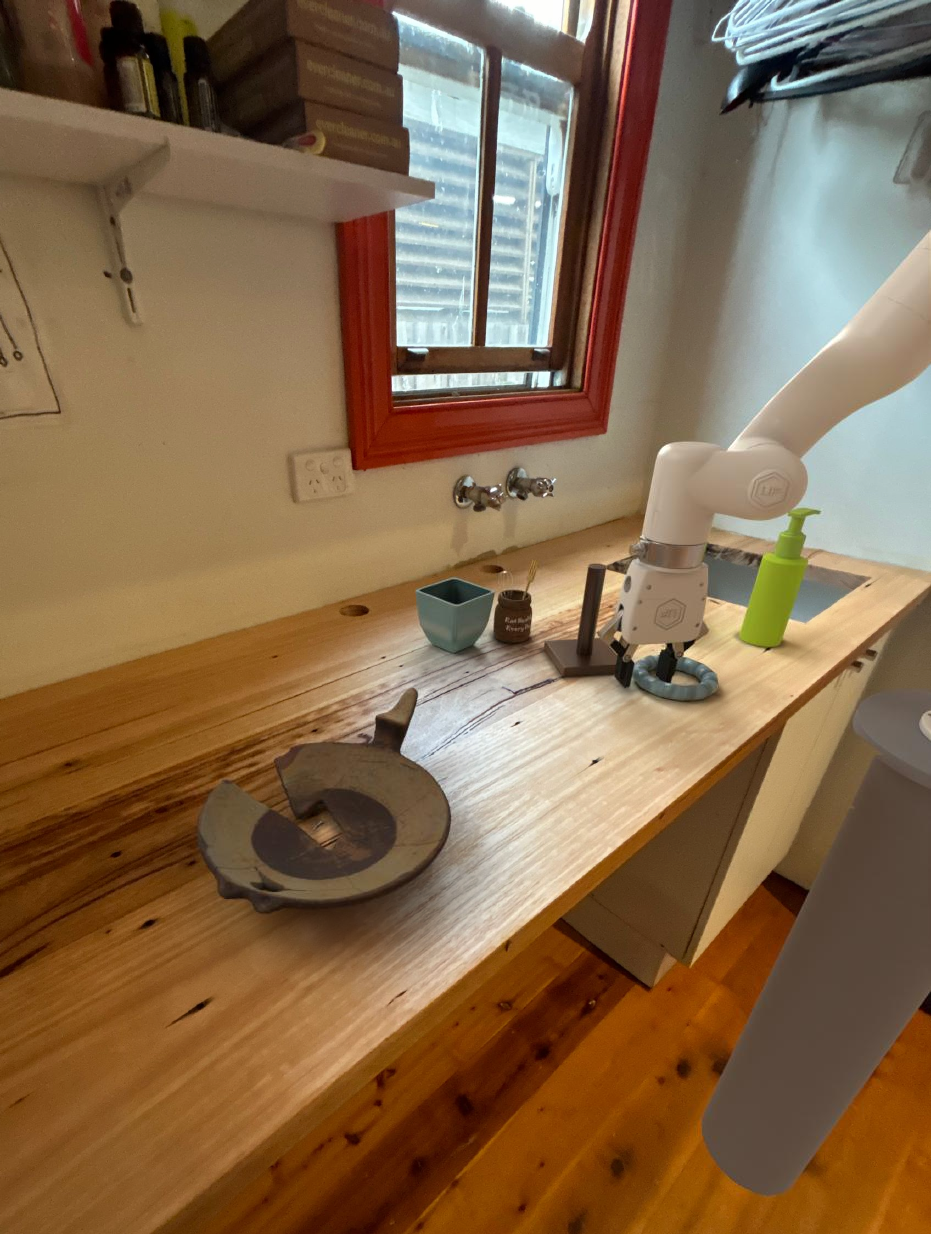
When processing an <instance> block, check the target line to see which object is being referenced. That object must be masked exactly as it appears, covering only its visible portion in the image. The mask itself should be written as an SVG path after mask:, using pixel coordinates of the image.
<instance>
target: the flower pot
mask: <svg viewBox="0 0 931 1234" xmlns="http://www.w3.org/2000/svg"><path fill="white" fill-rule="evenodd" d="M495 594H496V591H495V590H493V589H490V588H488V587H484V586H481V585H479V584H476V583H473V582H470V581H468V580H464V579H461V578H458V577H450V578H446V579H445V580H444V579H443V580H441V581H438V582H436V583H435V582H434V583H433V584H429V585H426V586H423V587H420V588H417V589H415V600H416V601H415V602H416V609H417V616H418V621H419V624H420V627H421V630H422V632H423V634H424V635H425V637H426V639H427V640H428V642H429V643H430V644H432V645H434V646H436V647H438V648H440V649H443V650H444V651H447V652H449V653H452V654H456V653H458V652H459V651H462V650H464V649H467V648H469V647H471V646H474V645H475V644H476V643H477V642H478V640H479V639H480V638H481V636H482V635H483V633H484V632H485V630H486V628H487V626H488V623H489V620H490V617H491V613H492V608H493V605H494V604H493V603H494V599H495Z"/></svg>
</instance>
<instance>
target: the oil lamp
mask: <svg viewBox="0 0 931 1234" xmlns="http://www.w3.org/2000/svg"><path fill="white" fill-rule="evenodd" d="M401 695H402V696H401V697H400V698H399V700H398V701H397V703H396V704H395V705H394V706H393V707H392V708H391V709H390V710H388V711H386V712H381V713H378V714H376V715H375V718H374V721H375V727H374V731H373V734H374V735H373V738H372V740H371V741H370V742H365V741H363V742H342V741H321V742H308V743H305V742H304V743H300V744H298V745H293V746H291V747H290V748H289V750H288V751H287V752H286V753H284V754H283V755H278V756H277V757H275V758H274V759H273V764H274V766H275V769H276V770H275V771H276V773H277V775H278V777H279V781H280V782H281V786H282V789H283V790H284V795H285V796H286V797H287V800H288V803H289V808H290V809H291V811H292V814H293V816H294V817H295V820H297V821H298V820H302V819H304V818H306V817H307V816H310V815H311V814H312V813H313V812H315V811H316V810H317V809H318V808H319V805H322V804H323V805H324V806H325V808H326V810H327V812H328V814H330V816H331V818H332V819H333V821H334V822H335V823H336V824H337V825H338V826H339V827H340V829H341V830H342V832H341V833H340V835H339V836H338V838H337V839H336V841H335V844H334V845H333V847H332V848H331V849H326V848H325V847H323V846H322V845H321V844H320V843H319V842H318V840H317V839H314V838H313V837H312V836H311V835H309V833H307V832H306V830H304V829H302V827H300V826H299V825H298V824H296V823H295V822H294V821H292V820H290V819H289V817H286V816H284V815H283V814H282V813H280V812H278V811H276V810H274V809H273V808H271V807H269V806H267V805H266V804H265V803H263V802H260V801H258V800H256V799H255V798H254V797H253V796H252V795H251V794H250V793H248V792H246V791H244V790H243V789H242V788H241V787H240V786H238V784H236V783H235V782H234V781H233V780H230V779H222V780H221V782H220V783H219V784H218V785H217V786H216V787H215V788H213V789H212V790H211V792H210V793H208V795H207V797H206V799H205V801H204V803H203V805H202V808H201V809H200V811H199V814H198V816H197V817H198V818H197V826H196V835H197V838H196V839H197V844H198V848H199V851H200V854H201V857H202V860H203V862H204V863H205V865H206V867H207V869H208V870H209V871H210V872H211V874H212V875H213V876H214V878H215V880H216V882H217V887H216V888H217V894H218V895H219V896H220V897H221V898H222V899H225V900H241V899H243V900H247V901H249V902H250V903H251V905H252V907H253V910H255V912H256V913H258V914H261V915H268V914H269V915H270V914H272V913H275V912H278V911H281V910H284V909H288V910H289V909H290V910H291V909H294V910H304V911H310V910H311V911H318V910H320V911H321V910H332V909H333V910H334V909H342V908H347V907H352V906H357V905H362V904H364V903H368V902H371V901H373V900H377V899H379V898H381V897H385V896H386V895H390V894H391V893H393V892H396V891H397V890H399V889H401V888H403V887H404V886H406V885H408V884H409V883H411V882H412V881H414V880H415V879H417V878H418V877H420V876H421V875H422V874H423V873H424V872H425V871H426V870H428V869H429V867H430V866H431V865H432V864H433V863H434V862H435V860H436V859H437V858H438V856H439V855H440V854H441V852H442V850H443V849H444V847H445V845H446V843H447V840H448V838H449V835H450V832H451V826H452V810H451V806H450V802H449V800H448V797H447V795H446V793H445V790H444V789H442V786H441V785H440V783H439V782H438V781H437V779H436V778H435V777H434V776H433V774H431V773H430V772H429V771H428V770H427V769H425V767H423V766H421V764H419V763H417V762H416V761H415V760H412V759H410V758H409V757H406V756H405V755H404V754H402V752H401V749H402V745H403V743H404V741H405V739H406V736H407V733H408V730H409V728H410V725H411V721H412V719H413V716H414V714H415V709H416V706H417V703H418V699H419V691H418V690H417V688H415V687H410V688H408V689H406V690H405V691H404V693H402V694H401ZM324 822H325V820H319V822H318V823H317V824H316V825H315V826H314V828H313V831H315V830H316V828H317V827H318V826H319V825H321V824H322V823H324Z"/></svg>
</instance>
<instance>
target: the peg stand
mask: <svg viewBox="0 0 931 1234" xmlns="http://www.w3.org/2000/svg"><path fill="white" fill-rule="evenodd" d="M586 571H587V572H586V578H585V586H584V591H583V599H582V604H581V605H582V606H581V610H580V611H581V612H580V618H579V625H578V631H577V638H572V639H554V640H553V639H552V640H544V643H543V644H544V645H543V651H544V652H545V653H546V655H547V656H548V658H549V659H550V661H551V662H552V663H553V665H554V666H555V668H556V669H557V671H558V672H559V674H560V675H561V676H562V677H563V678H568V677H569V678H570V677H571V678H572V677H583V676H584V677H586V676H601V675H614V672H615V667H616V661H617V656H618V654H617V653H616V652H615V651H614V650H613V649H612V648H611V647H610V646H608V645H607V644H606V643H605V642H603V641H602V640H601V639H600V638H599V637H596V632H597V628H598V627H597V626H598V620H599V615H600V608H601V602H602V598H603V590H604V585H605V579H606V572H607V566H606V565H605V564H603V563H595V562H594V563H589V564H588V565H587V570H586Z"/></svg>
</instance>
